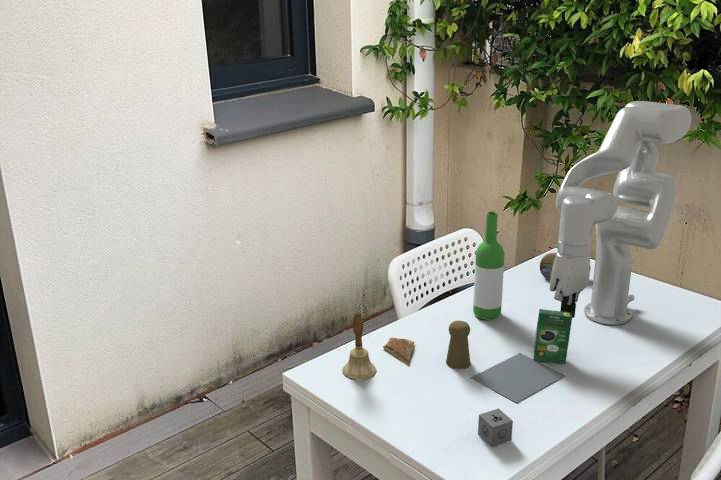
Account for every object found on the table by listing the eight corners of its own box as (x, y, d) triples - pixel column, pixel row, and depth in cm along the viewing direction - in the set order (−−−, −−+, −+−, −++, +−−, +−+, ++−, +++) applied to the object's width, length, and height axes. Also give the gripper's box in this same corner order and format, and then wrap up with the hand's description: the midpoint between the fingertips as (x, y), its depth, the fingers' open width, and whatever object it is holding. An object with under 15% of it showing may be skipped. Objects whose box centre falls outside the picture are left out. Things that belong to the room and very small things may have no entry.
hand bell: (370, 382, 181) (370, 322, 175) (337, 377, 183) (336, 317, 177) (380, 364, 188) (379, 306, 182) (348, 360, 190) (347, 302, 185)
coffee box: (566, 358, 189) (572, 311, 185) (566, 364, 187) (572, 316, 182) (533, 355, 191) (538, 307, 186) (533, 360, 188) (538, 312, 184)
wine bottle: (487, 323, 207) (493, 220, 196) (467, 313, 213) (471, 212, 202) (506, 315, 212) (513, 213, 201) (486, 305, 217) (491, 206, 207)
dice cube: (491, 447, 157) (492, 427, 155) (477, 434, 161) (478, 414, 159) (511, 440, 159) (512, 420, 157) (497, 428, 163) (498, 408, 161)
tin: (538, 279, 234) (540, 254, 231) (538, 275, 237) (540, 250, 234) (589, 282, 232) (592, 256, 229) (588, 278, 235) (590, 252, 231)
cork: (456, 354, 192) (457, 315, 188) (475, 362, 188) (477, 322, 184) (440, 362, 188) (442, 323, 184) (460, 371, 184) (461, 331, 180)
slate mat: (519, 353, 192) (519, 352, 192) (565, 375, 182) (565, 375, 182) (470, 378, 182) (470, 377, 181) (516, 403, 171) (516, 402, 171)
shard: (408, 366, 188) (408, 360, 187) (378, 363, 189) (378, 357, 189) (415, 345, 198) (415, 339, 197) (386, 342, 199) (386, 336, 199)
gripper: (579, 236, 189) (572, 303, 195) (541, 250, 180) (535, 320, 187) (605, 244, 183) (598, 313, 190) (567, 259, 175) (561, 331, 181)
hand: (567, 316), depth 188 cm, fingers closed
